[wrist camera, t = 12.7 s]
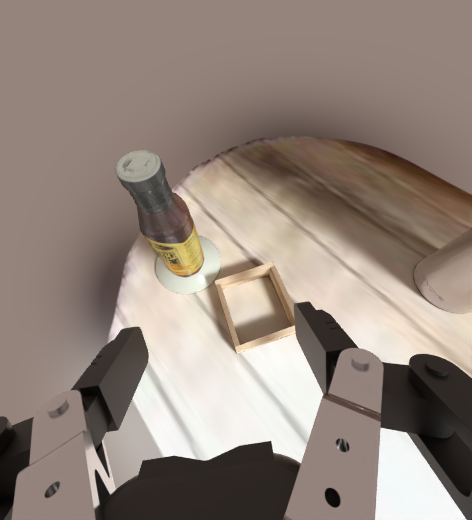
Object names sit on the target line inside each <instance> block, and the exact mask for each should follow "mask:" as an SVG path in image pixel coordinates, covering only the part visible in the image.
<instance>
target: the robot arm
mask: <svg viewBox="0 0 472 520" xmlns="http://www.w3.org/2000/svg"><path fill="white" fill-rule="evenodd" d="M414 279H415V283H416V285H417V288H418V289H419V291H420V292H421V294H422V295H423V296H424V297H425V298H426V299H427V300H428V301H430V302H431V303H432V304H434V305H435V306H437V307H438V308H441V309H443V310H445V311H448V312H452V313H468V312H472V229H470V230H468V231H467V232H465V233H464V234H462V235H461V236H459V237H458V238H456V239H454V240H453V241H451V242H450V243H448V244H447V245H445V246H444V247H442V248H440V249H439V250H437V251H436V252H434V253H433V254H431V255H430V256H428V257H426V258H425V259H423V260H422V261H420V262H419V263H418V264H417V266H416V268H415V270H414ZM294 320H295V332H296V337H297V340H298V342H299V344H300V346H301V348H302V351H303V353H304V355H305V357H306V359H307V361H308V363H309V365H310V367H311V369H312V371H313V373H314V375H315V377H316V379H317V382H318V384H319V386H320V388H321V390H322V392H323V394H324V395H323V397H322V400H321V403H320V406H319V409H318V412H317V416H316V419H315V422H314V425H313V428H312V431H311V434H310V438H309V441H308V444H307V447H306V450H305V453H304V456H303V460H302V463H299V462H298V461H296V460H294V459H292V458H290V457H288V456H284V455H281V454H276V453H273V449H272V444H271V441H268V442H261V443H255V444H248V445H242V446H238V447H236V448H234V449H232V450H230V451H227V452H225V453H223V454H221V455H219V456H217V457H214V458H212V459H210V460H207V461H202V460H196V459H190V458H184V457H178V456H170V457H164V458H157V459H151V460H145V461H143V462H142V465H141V468H140V471H139V475H137V476H135V477H133V478H132V479H130V480H128V481H127V482H125V483H124V484H123V485H121V486H120V487H119V488H117V490H116V488H115V485H114V481H113V477H112V473H111V468H110V464H109V460H108V456H107V452H106V447H105V444H104V441H103V437H104V435H105V433H106V432H109V431H116V430H118V429H119V428H120V425H121V423H122V421H123V418H124V416H125V414H126V412H127V409H128V407H129V404H130V402H131V400H132V398H133V396H134V393H135V391H136V389H137V386H138V384H139V382H140V380H141V377H142V375H143V373H144V370H145V368H146V366H147V363H148V357H149V355H148V349H147V346H146V343H145V340H144V337H143V334H142V331H141V329H140V327H131V328H124V329H122V330H121V331H120V332H119V334H118V335H117V337H116V338H115V339H114V340H112V341H111V342H110V343H108V344H107V345H106V346H105V347H104V348H102V350H101V351H100V352H99V354H98V355H97V356H96V358H95V359H94V360H93V361H92V363H91V365H90V366H89V367H88V368H87V369H86V371H85V372H84V373H83V375H82V376H81V377H80V379H79V380H78V381H77V382H76V384H75V385H74V386H73V388H72V389H71V390H70V391H66V392H63V393H61V394H59V395H57V396H55V397H54V398H52V399H51V400H49V401H48V402H47V403H45V404H44V405H43V406H42V407H41V408H40V409H39V411H38V412H37V413H36V415H35V416H34V417H33V418H30V419H28V420H25V421H22V422H20V423H17V424H15V425H11V423H10V422H9V420H8V419H7V418H6V417H0V520H375V508H376V492H377V475H378V459H379V443H380V428H386V429H391V430H397V431H402V432H407V433H408V435H409V436H410V438H411V439H412V441H413V442H414V443H415V445H416V446H417V448H418V449H419V451H420V452H421V454H422V455H423V457H424V458H425V459H426V461H427V462H428V464H429V465H430V467H431V468H432V470H433V471H434V473H435V474H436V475H437V477H438V478H439V480H440V481H441V483H442V484H443V486H444V487H445V489H446V490H447V491H448V493H449V494H450V496H451V497H452V499H453V500H454V502H455V503H456V505H457V506H458V507H459V509H460V510H461V512H462V513H463V515H464V516H465V518H466V519H467V520H472V378H471V377H470V376H468V375H467V374H466V373H465V372H463V371H462V370H461V369H460V368H459V367H457V366H456V365H455V364H453V363H451V362H449V361H448V360H445V359H443V358H441V357H438V356H434V355H429V354H417V355H414V356H412V357H411V358H410V361H409V365H401V364H391V363H384V362H381V360H380V359H379V358H378V357H377V356H376V355H374V354H373V353H371V352H369V351H367V350H364V349H359V348H358V347H357V345H356V344H355V343H354V342H353V341H352V340H351V338H350V337H349V336H348V335H347V334H346V332H345V331H344V330H343V329H342V328H341V326H340V325H339V324H338V323H336V321H335V319H334V318H333V317H332V316H331V315H330V314H329V313H327V312H325V311H323V310H315V308H314V307H313V306H312V304H311V303H310V302H309V301H308V302H301V303H295V304H294Z"/></svg>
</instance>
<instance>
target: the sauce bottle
mask: <svg viewBox="0 0 472 520" xmlns="http://www.w3.org/2000/svg"><path fill="white" fill-rule="evenodd" d="M116 174H117V176H118V178H119V180H120V182H121V184H122V185H123V186H124V187H125V188H126V189H127V190H128V191H129V192H130V194H131V196H132V197H133V199H134V200H135V203H136V205H137V210H138V217H139V225H140V230H141V232H142V234H143V235H144V237H145V238H146V240H147V241H148V242H149V244H150V245H151V246H152V248H153V249H154V251H155V252H156V253H157V255H158V256H159V257H160V259H161V260H162V261H163V263H164V264H165V265H166V267H167V268H168V269H169V270H170V271H171V272H172V273H173V274H175V275H177V276H180V277H184V278H185V277H190V276H192V275H194V274H196V273H198V272H199V271H200V269H201V268H202V266H203V262H204V254H203V250H202V247H201V244H200V241H199V238H198V234H197V231H196V228H195V225H194V222H193V219H192V217H191V215H190V212H189V209H188V207H187V205H186V203H185V202H184V201H183V200H182V198H181V197H179V196H178V195H177V194H176V193H172V190H171V188H170V187H169V185H168V182H167V180H166V177H165V168H164V166H163V164H162V161H161V159H160V158H159V156H158V155H156V154H155V153H153V152H151V151H147V150H141V151H134V152H131V153H129V154H127V155H125V156H124V157H122V158H121V159H120V160H119V161H118V163H117V166H116Z"/></svg>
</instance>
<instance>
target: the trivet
mask: <svg viewBox="0 0 472 520" xmlns="http://www.w3.org/2000/svg"><path fill="white" fill-rule="evenodd" d="M198 238H199V241H200V244H201V247H202V250H203V254H204V262H203V266H202V268H201V269H200V271H199V272H198V273H196V274H194V275H192V276H190V277H185V278H184V277H180V276H177V275H175V274H173V273H172V272H171V271H170V270H169V269H168V268H167V267H166V265H165V264H164V263H163V261H162V260H161V259H160V257H159V256H158V258H157V261H156V274H157V277H158V279H159V281H160V282H161V283H162V285H163V286H164V287H165V288H167V289H168V290H170V291H172V292H174V293H177V294H193V293H197V292H199V291H202V290H204V289H205V288H207V287H208V286H209V285H210V284H212V282H213V281H214V280H215V279H216V277H217V275H218V273H219V271H220V267H221V257H220V253H219V250H218V248H217V247H216V245H215V244H214V243H213V242H212V241H211V240H209V239H207V238H205V237H203V236H199V235H198Z"/></svg>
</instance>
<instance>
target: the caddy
mask: <svg viewBox="0 0 472 520" xmlns="http://www.w3.org/2000/svg"><path fill="white" fill-rule="evenodd" d="M267 275H269V276H270V279H271V281H272V283H273V285H274V288H275V290H276V292H277V294H278V297H279V299H280V301H281V303H282V306H283V308H284V310H285V312H286V315H287V317H288V319H289V321H290V324H291V326H292V327H289V328H286V329H283V330H280V331H278V332H275V333H272V334H269V335H267V336H264V337H261V338H258V339H256V340H253V341H250V342H247V343H245V344H242V345H240V343H239V340H238V337H237V334H236V331H235V328H234V325H233V322H232V319H231V315H230V312H229V309H228V306H227V303H226V300H225V297H224V294H223V291H222V290H225V289H228V288H231V287H234V286H237V285H240V284H243V283H246V282H249V281H252V280H255V279H258V278H261V277H264V276H267ZM215 284H216V288H217V291H218V294H219V297H220V301H221V304H222V307H223V310H224V313H225V317H226V320H227V323H228V326H229V330H230V333H231V336H232V339H233V342H234V346H235V349H236V352H237V354H240V353H243V352H245V351H248V350H251V349H253V348H256V347H259V346H262V345H264V344H267V343H270V342H273V341H275V340H278V339H281V338H283V337H286V336H289V335H292V334H294V333H296V332H295V320H294V305H293V303H292V301H291V299H290V297H289V295H288V293H287V290H286V288H285V286H284V284H283V282H282V280H281V278H280V275H279V273H278V271H277V269H276V267H275V265H274V263H273V262H271V263H268V264H265V265H262V266H259V267H256V268H252V269H249V270H246V271H243V272H240V273H237V274H234V275H231V276H228V277H225V278H222V279H219V280H215Z"/></svg>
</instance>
